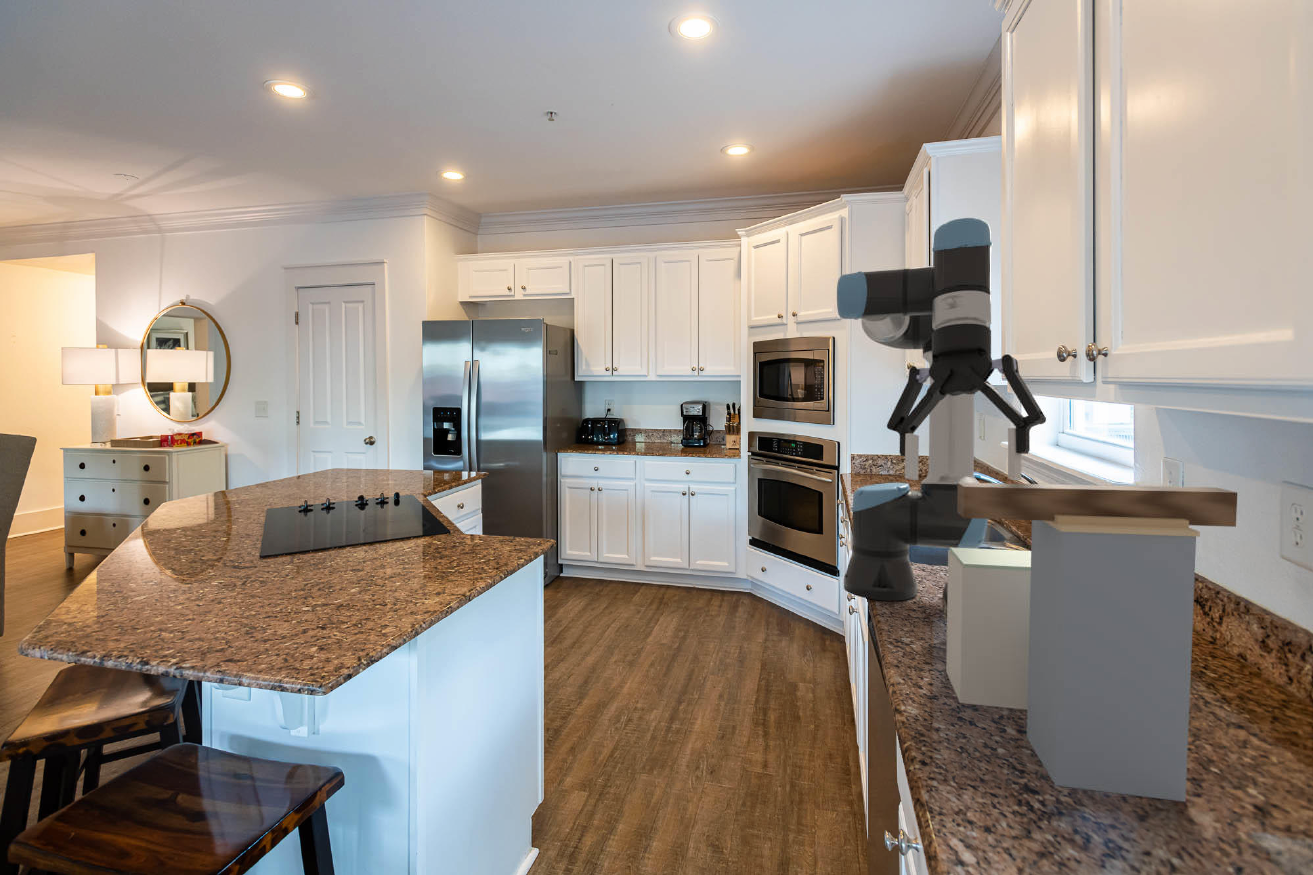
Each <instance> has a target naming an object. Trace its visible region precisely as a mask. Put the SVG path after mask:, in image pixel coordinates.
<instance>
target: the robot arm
mask: <svg viewBox="0 0 1313 875" xmlns="http://www.w3.org/2000/svg"><path fill="white" fill-rule="evenodd" d="M992 247H993V241H992V235H991V226H990V224H989V223H988V222H986V221H985V220H983V219H981V218H976V217H964V218H957V219H952V220H949V221H946V222H944V223H943V224H941V225H940V226H938V228H937V229H936V230H935V231H934V234H933V247H932V266H922V267H921V266H920V267H911V268H910V267H909V268H903V269H902V268H901V269H890V270H889V269H888V270H886V269H885V270H876V271H858V272H853V273H847V274H842V275H841V276H840V277H838V281H837V284H836V285H837V286H836V306H837V307H836V308H837V313H838V316H839V317H840V318H841V319H842V320H843V319H844V320H856V321H857V320H860V321H861V327H862V330H863V332H864V333H865V335H866V336H867V337H868V338H869V339H870V340H872V341H873V342H875V343H877V344H879V345H883V346H885V347H889V348H894V349H899V350H900V349H901V350H922V358H923V360H925V361H926V362H927V363H928V364H929V367H921V368H920V367H917V366H915V365H913V366H911V367H910V368H909V370H908V371H909V372H908V377H907V378H908V381H907V383H906V385H905V387H904V388H903V391H902V392H901V394H900V397H899V399H898V401H897V403H896V406H895V408H894V409H893V411H892V413H891V416H890V417H889V419H888V421H887V424H886V428H887V429H888V430H889V431H893V432H896V433H898V434H899V455H900V456H901V457H904V479H907V480H911V481H914V480H915V481H919V457H920V456H919V452H920V451H919V448H920V447H919V446H920V445H919V444H920V443H919V442H920V441H919V440H920V436H919V435H917V434H914V433H915V432H916V431H917V430H918V428H919V427H920V426H921V425H922V423H924V421H925V419H927V417H929V419H928V420H929V421H928V423H929V424H928V425H929V426H928V427H929V428H928V429H929V430H928V434H929V435H928V436H929V437H928V474H927V475H926V477H925V478H924V479H923V480H921V482H920V489H919V490H911V487H910V484H909V483H906V482H885V483H876V484H869V485H865V486H864V485H863V486H860V487H859V488H857V489H856V490H855V491H854V493H853V497H852V507H851V512H852V536H851V537H852V538H851V539H852V540H851V542H852V547H851V548H852V551H851V557H850V559H849V562H848V566H847V568H846V572H845V574H844V576H843V589H844V591H846V592H847V593H849V594H851V595H853V596H857V597H859V598H864V599H867V600H868V599H869V600H876V601H889V602H890V601H893V602H894V601H904V600H909V599H912V598H914V597H916V596H917V594H918V582H917V580H916V578H915V574H914V570H913V567H912V564H911V561H910V557H909V556H910V553H909V552H910V546H914V547H927V548H929V547H930V548H938V549H939V548H942V549H950V548H972V549H980V547H981V546H982V545H983V543H984V541H985V536H986V532H987V527H988V521H989V519H978V518H963V517H962V516H961V515H960V514H958V513H957V491H958V483H981V482H980V481H979V480H977V479H976V477H975V475H974V474H975V473H974V469H975V468H974V467H975V466H974V465H975V464H974V463H975V462H974V461H975V460H974V458H975V457H974V456H975V452H974V451H975V449H974V448H975V394H977V393H978V392H981V393H982V394H983V395H984V397H986V398H987V399H988V401H990V402H991V403H992V404H993V405H994V406H995V407H996V408H997V409H998V410H999V411H1000V412H1001V413H1002V414H1003V415H1004V416H1005V417H1006V418H1007V419H1008V420H1009V421H1010V422H1011V423H1012V424H1013V426H1014V427H1009V428H1007V477H1008V478H1007V479H1009V480H1013V481H1022V455H1028V454H1029V453H1030V448H1031V447H1030V445H1031V444H1030V440H1031V439H1030V430H1031V429H1032V428H1033V427H1036V426H1039V425H1043V424H1045V423H1046V421H1047V417H1046V415H1045V414H1044V413H1043V411H1042V409H1041V407H1040V406H1039V404H1038V403H1037V401H1036V399H1035V398H1034V396H1033V394H1032V392H1031V391H1030V389H1029V388H1028V386H1027V384H1026V383H1025V381H1024V379H1023V378H1022V376H1021V374H1020V372H1019V365H1018V364H1019V362H1018V360H1017V359H1016V358H1015V357H1013V356H1012V355H1010V354H1004V355H1002V357H1001V358H997V359H992V330H991V324H992V293H991V280H992V278H991V277H992ZM995 369H996V370H997V371H998V372H999V373H1000V374H1002V375H1004V377H1005V379H1006V381H1007V383H1008V384H1009V386H1010V388H1011V389H1012V391H1013V393H1014V394H1015V396H1016V398H1017V399H1018V400H1019V402H1020V404H1021V405H1022V407H1023V409H1024V411H1025V412H1026V414H1027V415H1026V416H1024V415H1022V414H1021V412H1020V411H1019V410H1018V409H1017V408H1015V407H1014V406H1013V405H1012V404H1011V403H1010V402H1009V401H1008V400H1007V399H1006V398H1005V397H1004V396H1003V395H1002V393H1000V392H999V391H998V389H996V388H995V387H994V386H993V385H992V383H991V382H990V381H988V380H989V378H990V377H991V375H992V374H993V372H994V371H995ZM928 378H929V387H928V388H927V390H926V393H925V394H924V395H923V396H922V398H921V399H920V401H919V402H918V403H917V404H916V405H915V403H916V401H917V400H918V397H919V395H920V392H921V391H922V390H923V389H922V388H923V386H924V384H925V383H926V382H928ZM914 405H915V407H914ZM913 407H914V408H913Z"/></svg>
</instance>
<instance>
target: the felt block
mask: <svg viewBox="0 0 1313 875" xmlns="http://www.w3.org/2000/svg"><path fill="white" fill-rule="evenodd" d="M947 551H948V552H947V554H948V555H947V582H948V599H947V617H946V618H947V619H946V620H947V621H946V662H945V663H946V669H945V670H946V675H947V677H948V679H949V681H950V684H951V687H953V691H954V694H956V697H957V699H958V702H959V703H960V704H967V705H975V706H986V707H995V708H996V707H997V708H1006V709H1007V708H1008V709H1017V710H1026V711H1027V708H1028V666H1029V624H1030V582H1031V550H1015V549H1014V550H1013V549H993V548H992V549H991V548H989V549H988V548H977V549H972V548H949V550H947Z"/></svg>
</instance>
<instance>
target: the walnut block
mask: <svg viewBox="0 0 1313 875" xmlns="http://www.w3.org/2000/svg"><path fill="white" fill-rule="evenodd" d="M1237 510H1238V492H1237V491H1232V490H1229V489H1226V488H1225V489H1224V488H1219V487H1213V486H1212V487H1209V486H1206V487H1205V486H1200V487H1199V486H1162V485H1161V486H1156V485H1155V486H1154V485H1153V486H1151V485H1150V486H1149V485H1147V486H1146V485H1101V484H1100V485H1099V484H1049V483H1048V484H1047V483H1046V484H1045V483H1039V484H1038V483H999V482H997V483H996V482H994V483H993V482H992V483H991V482H980V483H958V491H957V513H958V514H960V515H961V516H962V517H963V518H978V519H988V520H989V519H990V520H1011V521H1014V520H1016V521H1018V520H1019V521H1032V520H1041V521H1055V515H1070V516H1103V517H1137V518H1170V519H1185V520H1188V521H1189V526H1201V527H1203V526H1205V527H1231V528H1233V527H1235V528H1236V527H1237V515H1238V514H1237Z"/></svg>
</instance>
